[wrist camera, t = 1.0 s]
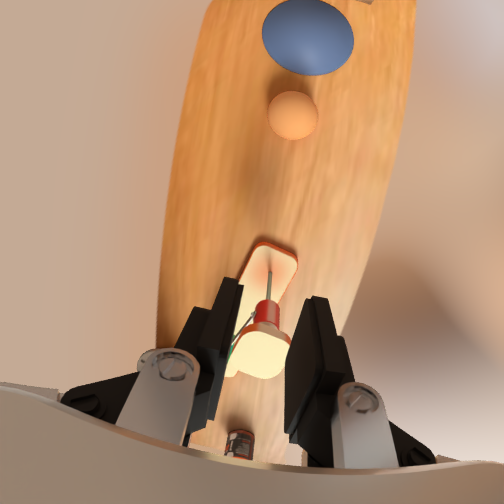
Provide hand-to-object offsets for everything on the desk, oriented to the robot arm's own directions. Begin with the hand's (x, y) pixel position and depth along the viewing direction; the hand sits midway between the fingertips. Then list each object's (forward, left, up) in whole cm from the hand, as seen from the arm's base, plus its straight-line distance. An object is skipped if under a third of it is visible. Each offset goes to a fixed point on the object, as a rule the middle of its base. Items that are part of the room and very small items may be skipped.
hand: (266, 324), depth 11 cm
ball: (+5, +8, -28) cm, 30 cm away
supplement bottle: (-25, -46, -31) cm, 61 cm away
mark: (+12, +18, -31) cm, 38 cm away
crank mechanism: (-12, -17, -31) cm, 37 cm away
